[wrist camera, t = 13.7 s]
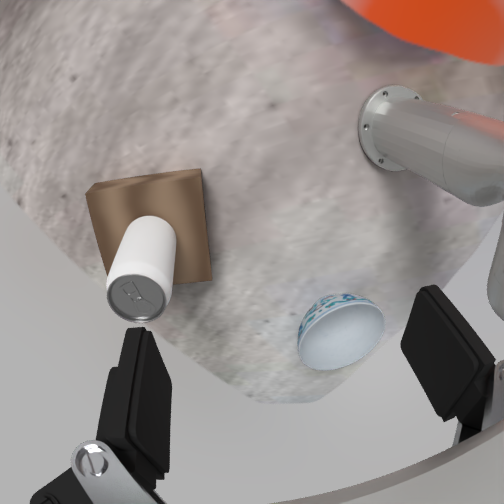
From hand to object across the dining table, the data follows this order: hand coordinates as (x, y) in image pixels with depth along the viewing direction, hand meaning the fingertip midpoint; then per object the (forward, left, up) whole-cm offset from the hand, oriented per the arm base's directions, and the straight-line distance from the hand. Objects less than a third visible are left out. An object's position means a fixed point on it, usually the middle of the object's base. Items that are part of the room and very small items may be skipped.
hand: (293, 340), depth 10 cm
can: (+10, +9, -27) cm, 31 cm away
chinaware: (-16, +28, -32) cm, 45 cm away
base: (+10, +9, -31) cm, 34 cm away
